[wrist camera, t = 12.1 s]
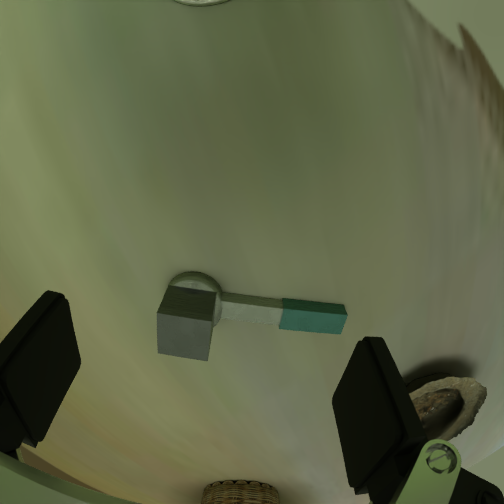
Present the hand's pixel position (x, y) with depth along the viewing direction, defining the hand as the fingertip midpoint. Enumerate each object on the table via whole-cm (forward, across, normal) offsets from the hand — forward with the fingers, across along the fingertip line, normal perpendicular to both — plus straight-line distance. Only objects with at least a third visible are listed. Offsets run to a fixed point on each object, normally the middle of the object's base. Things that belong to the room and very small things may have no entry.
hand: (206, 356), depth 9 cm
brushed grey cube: (+27, +4, +18) cm, 33 cm away
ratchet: (+30, -4, +18) cm, 36 cm away
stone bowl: (+31, -42, +38) cm, 64 cm away
